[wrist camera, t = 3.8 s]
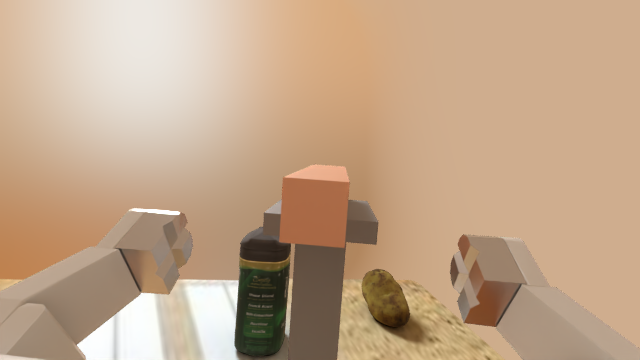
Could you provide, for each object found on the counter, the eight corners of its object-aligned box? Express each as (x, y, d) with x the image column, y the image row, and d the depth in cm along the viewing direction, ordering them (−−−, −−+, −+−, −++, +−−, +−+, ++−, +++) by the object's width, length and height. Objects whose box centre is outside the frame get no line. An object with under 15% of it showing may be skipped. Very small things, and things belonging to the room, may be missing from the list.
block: (344, 247, 19) (349, 182, 19) (279, 242, 20) (283, 177, 19) (342, 197, 41) (345, 166, 41) (311, 195, 42) (313, 164, 41)
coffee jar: (281, 360, 48) (289, 240, 47) (228, 357, 48) (234, 236, 47) (287, 326, 58) (294, 225, 56) (244, 323, 58) (249, 222, 56)
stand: (354, 495, 30) (378, 221, 28) (249, 481, 31) (264, 212, 28) (350, 398, 42) (367, 201, 40) (275, 389, 43) (286, 195, 40)
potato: (365, 330, 58) (369, 288, 58) (358, 298, 71) (361, 263, 70) (411, 334, 58) (415, 291, 57) (396, 301, 71) (399, 266, 70)
